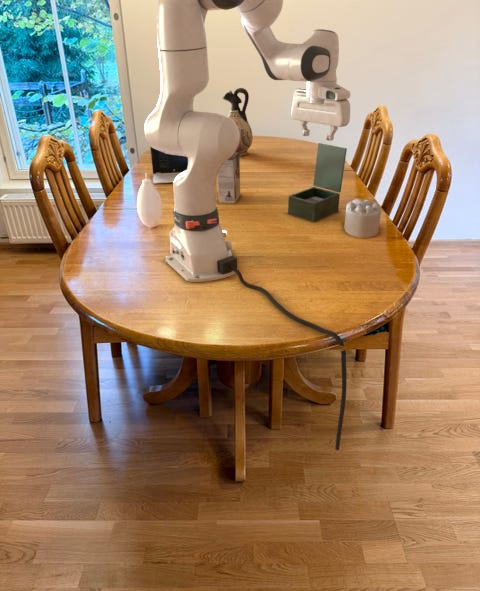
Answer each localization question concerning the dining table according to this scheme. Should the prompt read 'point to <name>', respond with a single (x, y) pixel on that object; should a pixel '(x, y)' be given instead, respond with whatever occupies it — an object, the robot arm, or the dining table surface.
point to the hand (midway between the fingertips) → (317, 137)
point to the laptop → (167, 166)
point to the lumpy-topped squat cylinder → (362, 218)
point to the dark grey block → (314, 199)
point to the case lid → (329, 167)
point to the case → (313, 204)
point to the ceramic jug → (240, 119)
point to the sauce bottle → (149, 204)
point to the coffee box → (229, 180)
